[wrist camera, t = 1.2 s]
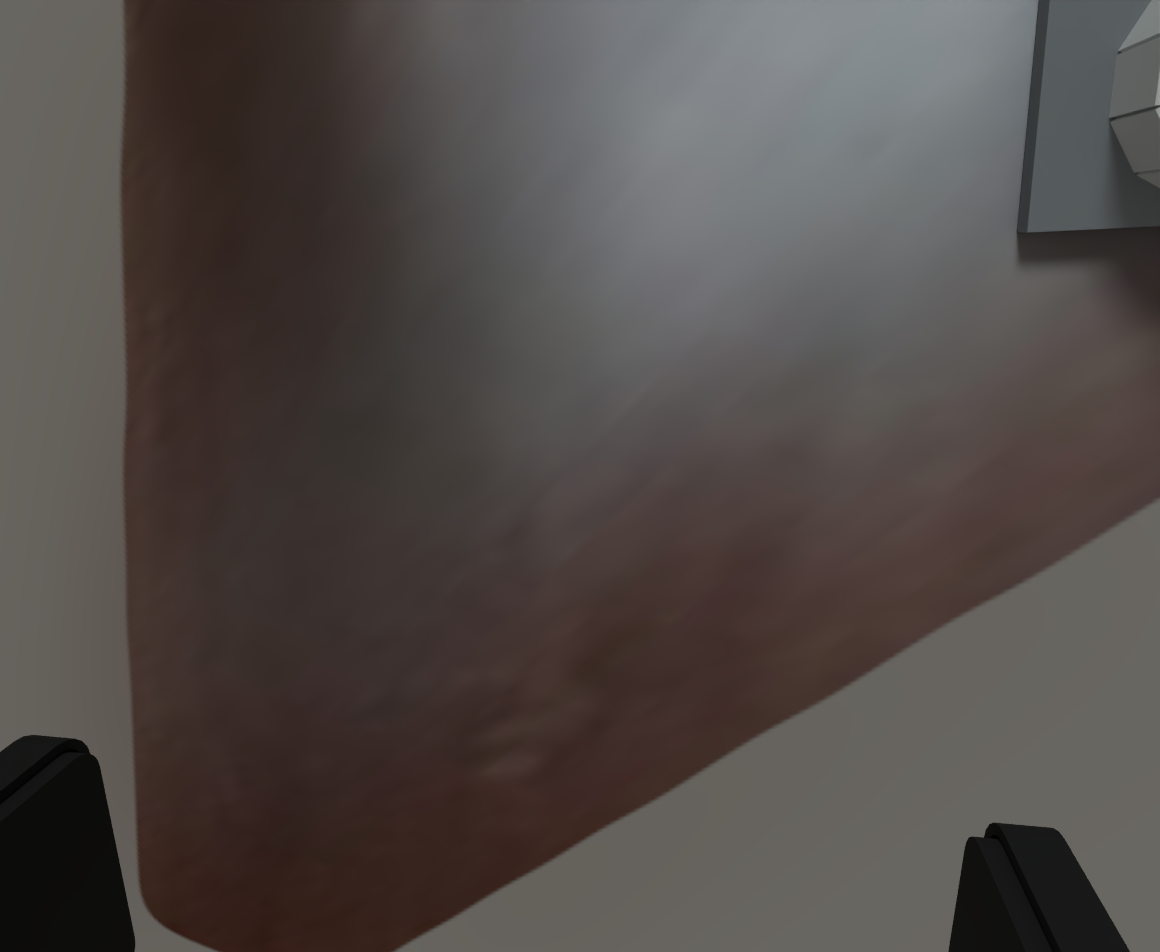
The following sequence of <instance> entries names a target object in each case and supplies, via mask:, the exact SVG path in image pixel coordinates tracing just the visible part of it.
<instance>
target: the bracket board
mask: <svg viewBox="0 0 1160 952" xmlns="http://www.w3.org/2000/svg"><path fill="white" fill-rule="evenodd" d="M1152 226H1160V0H1039V6H1038V16H1037V27H1036V37H1035V48H1034V59H1033V69H1032V80H1031V90H1030V101H1029V112H1028V122H1027V133H1026V143H1025V154H1024V165H1023V175H1022V186H1021V196H1020V207H1019V218H1018V228H1017V232H1026V233H1028V232H1048V231H1069V230H1090V229H1111V228H1132V227H1152Z"/></svg>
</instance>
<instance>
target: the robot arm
mask: <svg viewBox="0 0 1160 952" xmlns="http://www.w3.org/2000/svg"><path fill="white" fill-rule="evenodd" d="M134 950H135V936H134V931H133V927H132V922H131V917H130V912H129V907H128V902H127V898H126V892H125V887H124V882H123V878H122V873H121V868H120V863H119V858H118V853H117V848H116V843H115V838H114V834H113V829H112V824H111V819H110V814H109V809H108V804H107V799H106V794H105V789H104V784H103V780H102V775H101V770H100V766H99V763H98V760H97V759H96V758H95V757H94V756H93V755H91V754H90V752H89V749H88V747H87V746H86V745H85V744H84V743H83V742H82V741H80V740H77V739H70V738H60V737H49V736H38V735H30V736H24V737H22V738H20V739H18V740H16V741H15V742H13V743H12V744H10V745H9V746H8V747H6V748H5V749H4V750H2V751H1V752H0V952H134ZM949 952H1130V951H1129V949H1128V948H1127V946H1126V944H1125V942H1124V941H1123V939H1122V937H1121V935H1120V934H1119V932H1118V931H1117V929H1116V927H1115V925H1114V923H1113V922H1112V920H1111V918H1110V917H1109V915H1108V913H1107V911H1106V910H1105V908H1104V906H1103V904H1102V903H1101V901H1100V899H1099V898H1098V896H1097V894H1096V893H1095V891H1094V889H1093V887H1092V885H1091V884H1090V882H1089V880H1088V879H1087V877H1086V875H1085V873H1084V872H1083V870H1082V868H1081V867H1080V865H1079V863H1078V861H1077V860H1076V858H1075V856H1074V855H1073V853H1072V851H1071V849H1070V848H1069V846H1068V844H1067V842H1066V841H1065V839H1064V838H1063V836H1062V835H1061V834H1060V832H1059V831H1057V830H1055V829H1054V828H1047V827H1036V826H1024V825H1014V824H1003V823H1002V824H1001V823H992V824H989V826H988V828H987V829H986V832H985V836H984V838H982V837H969V838H968V840H967V842H966V846H965V850H964V857H963V863H962V869H961V876H960V882H959V889H958V895H957V901H956V908H955V914H954V920H953V926H952V933H951V939H950V945H949Z"/></svg>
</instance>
